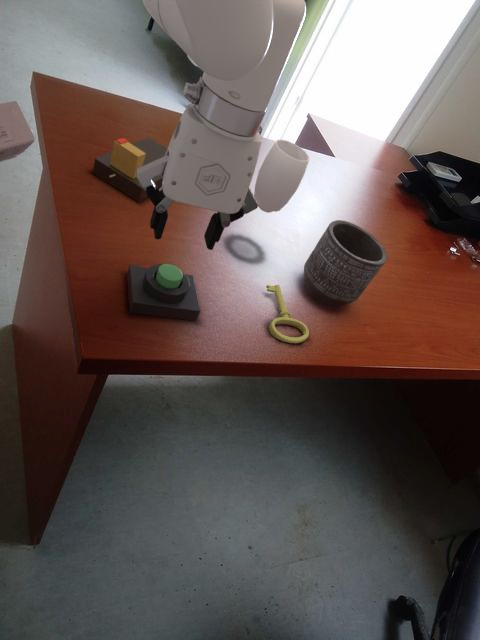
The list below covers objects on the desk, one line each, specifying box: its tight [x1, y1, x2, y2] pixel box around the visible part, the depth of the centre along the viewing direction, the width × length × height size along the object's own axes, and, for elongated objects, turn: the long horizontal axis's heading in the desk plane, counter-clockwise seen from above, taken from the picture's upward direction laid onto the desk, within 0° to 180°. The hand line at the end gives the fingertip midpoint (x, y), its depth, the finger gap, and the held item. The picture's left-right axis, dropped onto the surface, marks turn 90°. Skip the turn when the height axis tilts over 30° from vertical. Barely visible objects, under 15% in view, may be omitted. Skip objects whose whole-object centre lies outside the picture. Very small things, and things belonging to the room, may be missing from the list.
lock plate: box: [92, 136, 168, 203], centre depth 88 cm, size 21×10×3 cm, turn 160°
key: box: [265, 284, 310, 344], centre depth 78 cm, size 7×12×2 cm, turn 36°
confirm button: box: [156, 263, 183, 289], centre depth 67 cm, size 4×4×2 cm
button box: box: [126, 263, 201, 322], centre depth 68 cm, size 10×8×4 cm
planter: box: [303, 219, 388, 309], centre depth 85 cm, size 12×12×13 cm
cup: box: [253, 139, 310, 214], centre depth 81 cm, size 7×7×21 cm
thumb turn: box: [110, 137, 146, 179], centre depth 81 cm, size 5×2×5 cm, turn 68°
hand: (183, 237), depth 62 cm, fingers open, 6 cm apart
